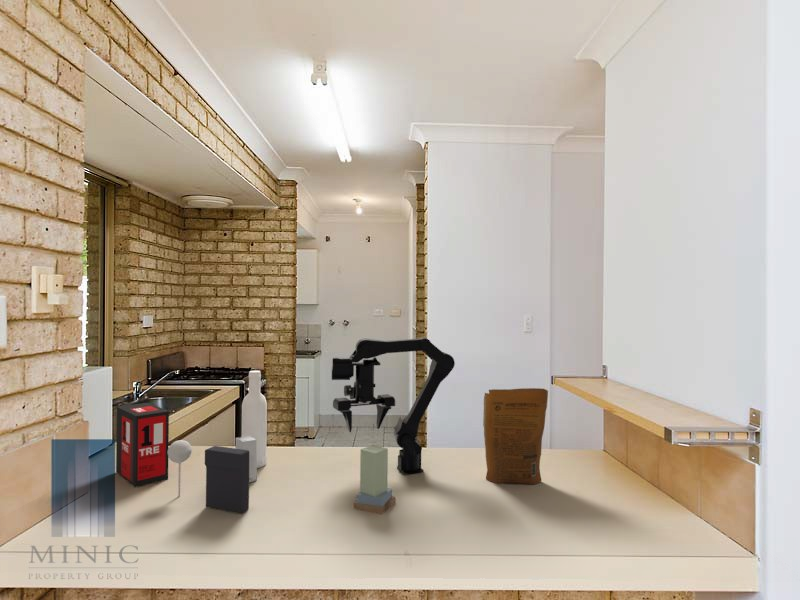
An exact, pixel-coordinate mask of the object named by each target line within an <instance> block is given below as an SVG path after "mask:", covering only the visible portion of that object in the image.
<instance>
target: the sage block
mask: <svg viewBox="0 0 800 600" xmlns="http://www.w3.org/2000/svg"><path fill="white" fill-rule="evenodd" d="M388 452H389V449H388V448H386V447H383V446H379V445H375V444H371V445H370V446H365V447H364V448H361V449H360V461H359V462H360V465H359V466H360V467H359V468H360V470H359V471H360V472H359V475H360V476H359V478H360V480H359V484H360V485H359V486H360V487H359V488H360V489H359V492H362V493H365V494H368V495H371V496H374V497H375V496H378V495H380V494H382V493H384V492H386V491H387V488H388V479H389V478H388V473H389V472H388V471H389V470H388V469H389V467H388V465H389V463H388V461H389V460H388V459H389V455H388V454H389V453H388Z"/></svg>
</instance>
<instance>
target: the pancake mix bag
mask: <svg viewBox="0 0 800 600" xmlns="http://www.w3.org/2000/svg"><path fill="white" fill-rule="evenodd" d="M548 398H549V390H548V389H545V388H538V387H537V388H535V387H532V388H531V387H530V388H528V387H527V388H525V387H523V388H513V389H511V388H509V389H500V388H499V389H495V388H493V389H488V392H484V396H483V421H482V423H483V425H482V426H483V438H484V449H485V462H486V474H485V480H486V481H488V482H491V483H493V482H494V483H495V484H499V485H501V484H502V483H503V484H510V485H514V484H515V485H537V484H540V483H541V482H542V476H541V469H540V463H541V456H542V446H543V445H542V443H543V442H542V441H543V435H544V431H545V423H546V414H547V408H548Z"/></svg>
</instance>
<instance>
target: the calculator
mask: <svg viewBox="0 0 800 600" xmlns="http://www.w3.org/2000/svg"><path fill="white" fill-rule="evenodd" d="M204 465H205V507H206V508H208V509H212V510H218V511H224V512H229V513H234V514H240V515H241V514H243V513H245V512H246V511H248V510H249V508H250V507H249V506H250V505H249V504H250V482H249V451H248V450H242V449H236V447H234V448H233V447H227V446H226V447H225V446H220V445H219V446H218V445H213V446H210V447H209V448H206V449H205V450H204Z"/></svg>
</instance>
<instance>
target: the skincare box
mask: <svg viewBox="0 0 800 600" xmlns="http://www.w3.org/2000/svg"><path fill="white" fill-rule="evenodd" d="M235 449H242V450H248V451H249V483H253V482H256V481H257V480H258V468H257V454H256V439H254V438H252V437H250V436H243V437H242V436H238V437H235Z"/></svg>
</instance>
